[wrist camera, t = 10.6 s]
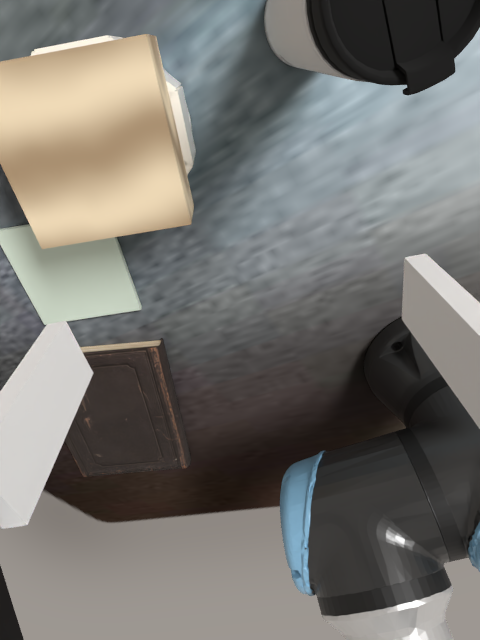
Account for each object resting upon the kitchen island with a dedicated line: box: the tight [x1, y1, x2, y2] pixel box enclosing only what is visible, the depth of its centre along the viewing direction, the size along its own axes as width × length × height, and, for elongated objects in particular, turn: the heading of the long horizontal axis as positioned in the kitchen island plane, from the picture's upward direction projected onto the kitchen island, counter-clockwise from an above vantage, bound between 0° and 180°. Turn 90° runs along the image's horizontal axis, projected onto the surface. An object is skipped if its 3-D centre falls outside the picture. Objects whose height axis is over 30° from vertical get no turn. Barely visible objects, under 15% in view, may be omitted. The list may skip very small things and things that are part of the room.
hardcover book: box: [65, 338, 191, 477], centre depth 52 cm, size 16×23×2 cm
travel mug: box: [264, 0, 480, 95], centre depth 21 cm, size 6×7×20 cm
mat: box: [0, 224, 142, 325], centre depth 40 cm, size 11×11×1 cm
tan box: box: [0, 34, 194, 249], centre depth 26 cm, size 11×11×4 cm
